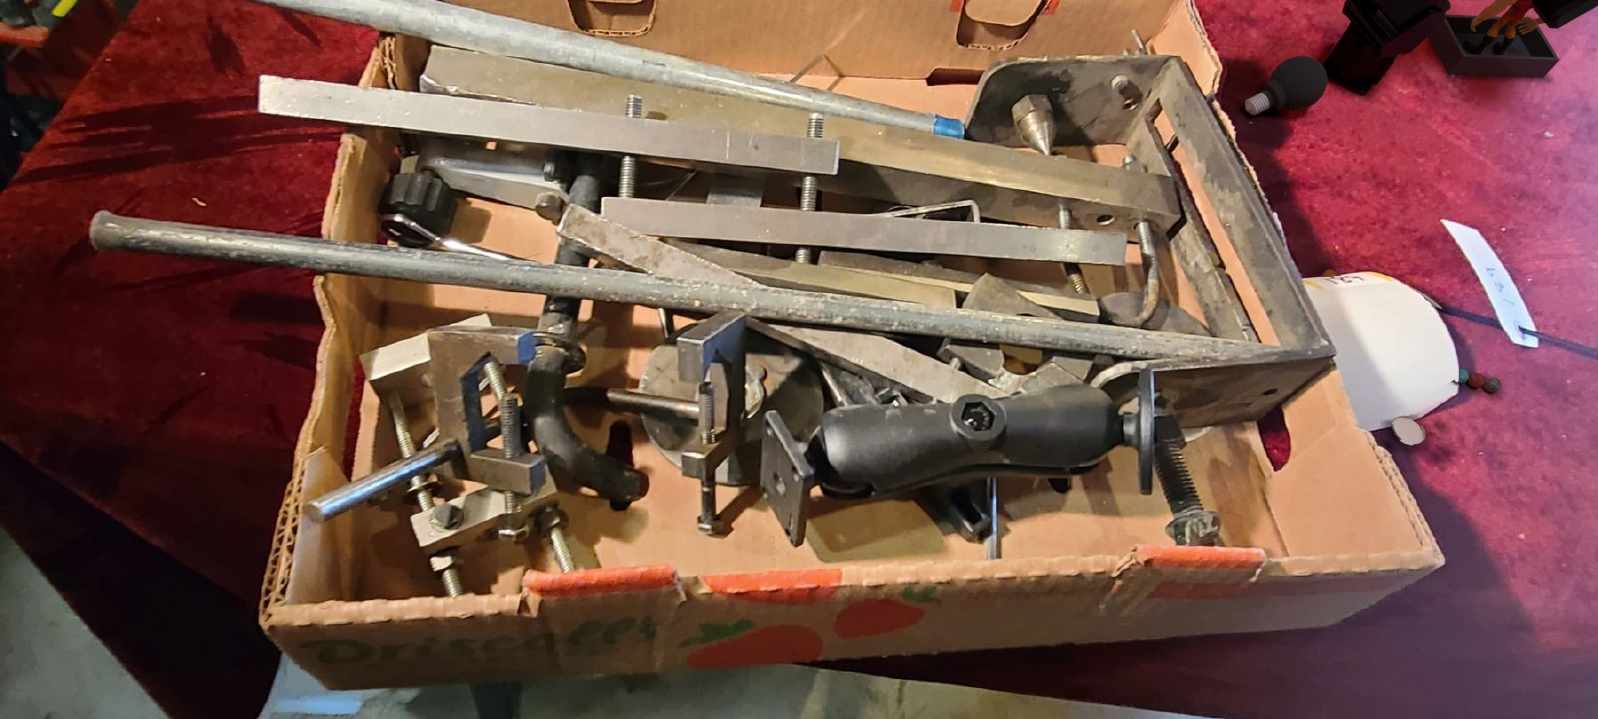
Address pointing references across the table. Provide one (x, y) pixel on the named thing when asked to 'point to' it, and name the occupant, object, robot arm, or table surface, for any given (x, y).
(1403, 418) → the grey flat disc
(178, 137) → the table surface
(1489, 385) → the beads
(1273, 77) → the light bulb
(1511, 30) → the action figure
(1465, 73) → the tray
